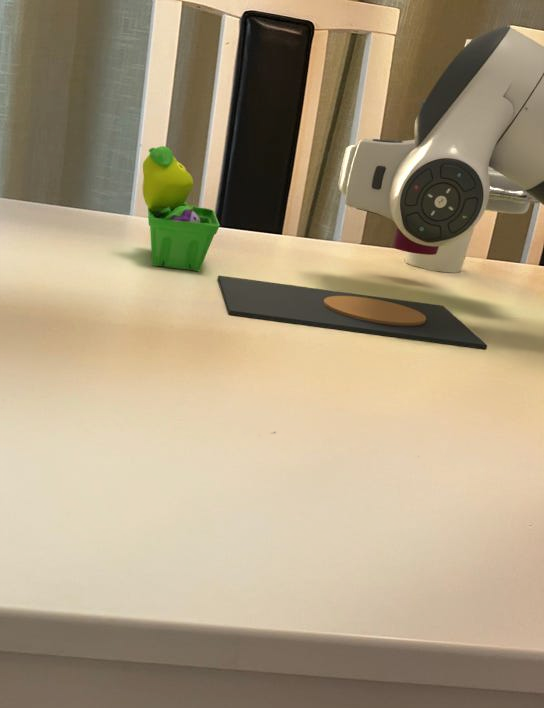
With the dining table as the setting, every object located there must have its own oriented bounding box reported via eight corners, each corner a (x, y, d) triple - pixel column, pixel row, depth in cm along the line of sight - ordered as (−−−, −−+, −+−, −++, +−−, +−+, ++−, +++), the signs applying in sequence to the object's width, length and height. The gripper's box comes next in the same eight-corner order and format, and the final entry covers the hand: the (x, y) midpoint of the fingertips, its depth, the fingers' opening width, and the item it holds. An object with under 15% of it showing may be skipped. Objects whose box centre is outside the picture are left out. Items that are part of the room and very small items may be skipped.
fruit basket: (212, 275, 107) (233, 160, 102) (129, 265, 107) (146, 148, 101) (205, 256, 117) (224, 149, 111) (130, 246, 117) (145, 139, 111)
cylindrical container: (403, 264, 128) (466, 38, 115) (406, 256, 134) (466, 40, 121) (460, 275, 126) (531, 46, 114) (461, 266, 132) (528, 48, 119)
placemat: (442, 309, 106) (444, 302, 106) (486, 349, 93) (488, 341, 92) (217, 279, 106) (218, 272, 106) (228, 314, 93) (230, 306, 92)
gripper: (555, 166, 98) (540, 156, 109) (344, 136, 102) (351, 130, 113) (533, 234, 101) (520, 218, 113) (329, 203, 105) (337, 190, 117)
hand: (434, 174), depth 113 cm, fingers closed on cup, 6 cm apart
